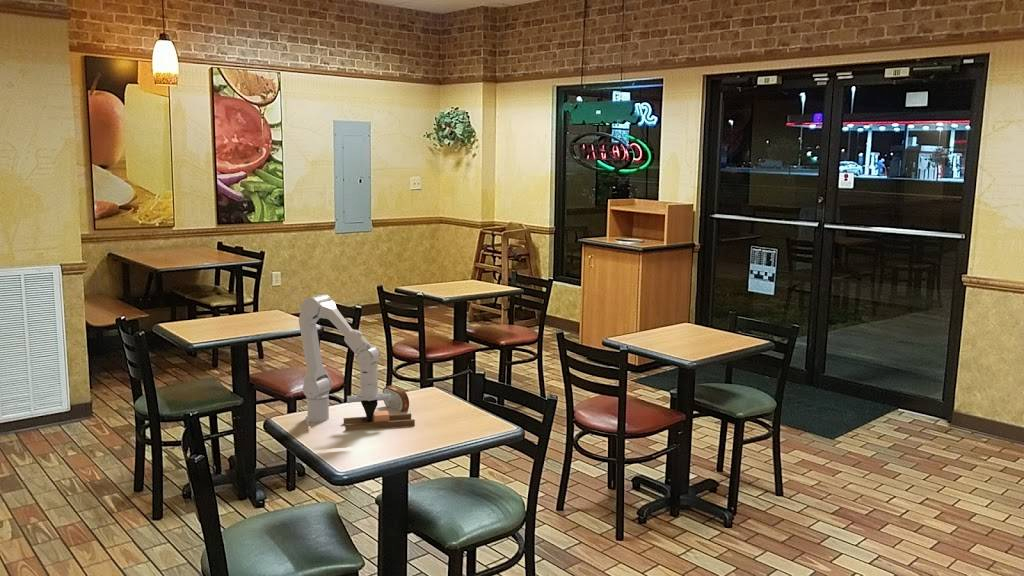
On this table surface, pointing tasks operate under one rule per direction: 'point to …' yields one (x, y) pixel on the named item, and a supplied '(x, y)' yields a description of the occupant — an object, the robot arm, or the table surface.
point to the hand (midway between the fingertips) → (369, 422)
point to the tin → (396, 398)
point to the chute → (394, 421)
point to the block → (380, 416)
